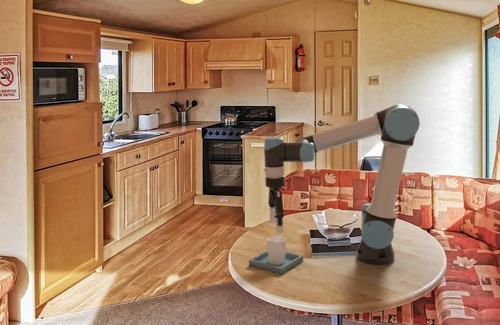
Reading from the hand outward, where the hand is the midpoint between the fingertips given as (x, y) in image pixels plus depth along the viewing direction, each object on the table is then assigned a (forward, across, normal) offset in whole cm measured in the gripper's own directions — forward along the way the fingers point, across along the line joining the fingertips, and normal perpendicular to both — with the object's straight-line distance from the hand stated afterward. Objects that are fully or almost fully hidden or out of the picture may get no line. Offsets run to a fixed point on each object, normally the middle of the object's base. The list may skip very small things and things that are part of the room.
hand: (276, 227), depth 192 cm
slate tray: (+15, 0, 0) cm, 15 cm away
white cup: (+15, 0, 0) cm, 15 cm away
